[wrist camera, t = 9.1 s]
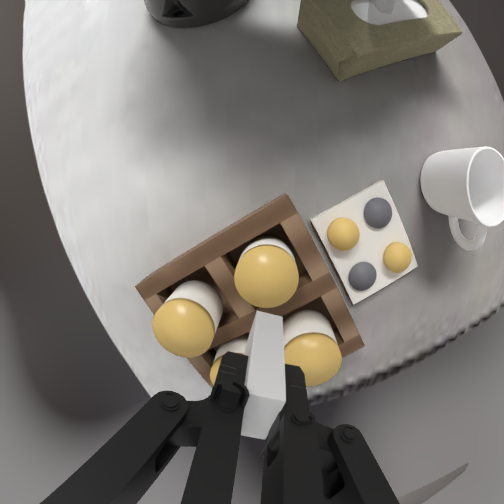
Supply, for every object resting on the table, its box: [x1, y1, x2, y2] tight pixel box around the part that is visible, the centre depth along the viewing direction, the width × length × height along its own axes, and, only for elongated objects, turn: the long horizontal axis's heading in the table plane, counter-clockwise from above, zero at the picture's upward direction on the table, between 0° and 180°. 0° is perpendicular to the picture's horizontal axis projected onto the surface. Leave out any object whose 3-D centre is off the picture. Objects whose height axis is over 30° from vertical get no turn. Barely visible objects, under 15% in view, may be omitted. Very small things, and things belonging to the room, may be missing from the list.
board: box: [135, 193, 365, 388], centre depth 32 cm, size 20×20×5 cm
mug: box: [420, 147, 504, 251], centre depth 24 cm, size 12×8×10 cm
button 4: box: [283, 310, 342, 387], centre depth 27 cm, size 6×6×6 cm
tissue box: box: [297, 0, 462, 81], centre depth 17 cm, size 19×10×16 cm, turn 119°
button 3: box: [234, 235, 299, 308], centre depth 28 cm, size 6×6×6 cm
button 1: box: [152, 280, 223, 357], centre depth 27 cm, size 6×6×6 cm
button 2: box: [210, 332, 250, 385], centre depth 32 cm, size 6×6×6 cm
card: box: [310, 180, 418, 305], centre depth 30 cm, size 12×10×2 cm
